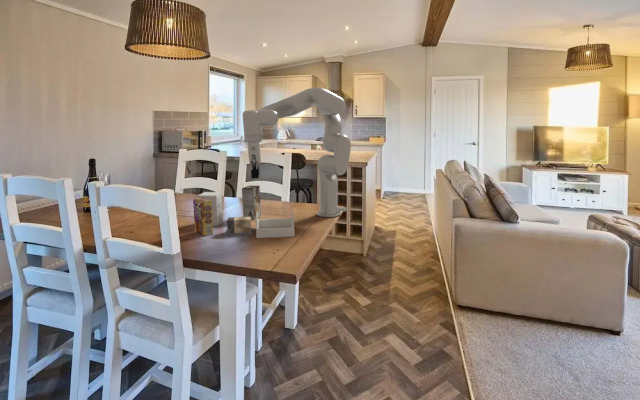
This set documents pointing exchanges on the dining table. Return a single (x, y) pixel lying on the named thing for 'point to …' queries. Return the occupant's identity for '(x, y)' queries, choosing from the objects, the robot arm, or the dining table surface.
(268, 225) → the grey open box
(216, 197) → the supplement box
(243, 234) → the mat
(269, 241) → the dining table surface
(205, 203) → the candy box
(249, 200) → the coffee box
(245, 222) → the block
